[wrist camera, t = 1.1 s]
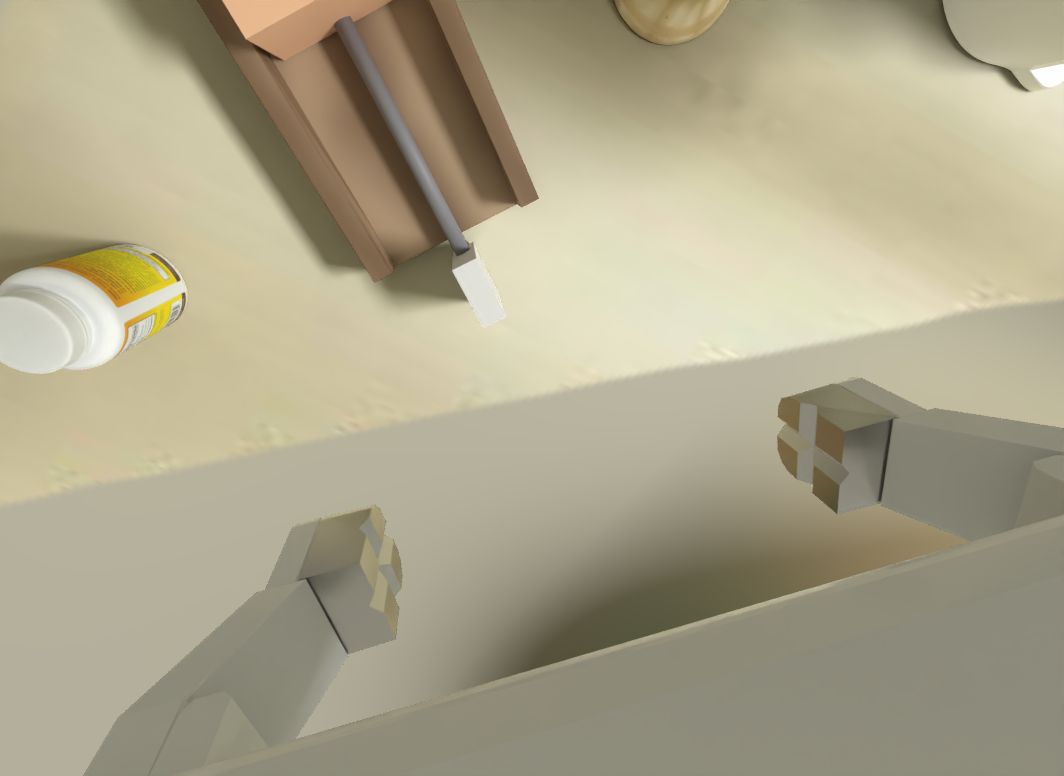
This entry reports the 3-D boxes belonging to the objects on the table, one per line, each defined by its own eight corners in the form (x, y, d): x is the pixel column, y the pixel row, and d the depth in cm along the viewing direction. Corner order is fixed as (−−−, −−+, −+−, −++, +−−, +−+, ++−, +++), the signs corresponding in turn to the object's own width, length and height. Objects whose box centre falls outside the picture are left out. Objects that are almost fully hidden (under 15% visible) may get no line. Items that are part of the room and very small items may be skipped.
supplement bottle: (84, 240, 31) (-73, 275, 22) (181, 245, 32) (70, 280, 23) (110, 324, 33) (-23, 389, 24) (199, 327, 34) (105, 389, 25)
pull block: (349, -139, 25) (317, -229, 19) (538, 273, 35) (554, 296, 30) (216, -62, 26) (145, -126, 20) (440, 321, 36) (437, 353, 30)
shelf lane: (364, -192, 24) (351, -243, 21) (531, 194, 33) (538, 198, 30) (169, -77, 25) (128, -110, 22) (382, 270, 34) (374, 282, 31)
